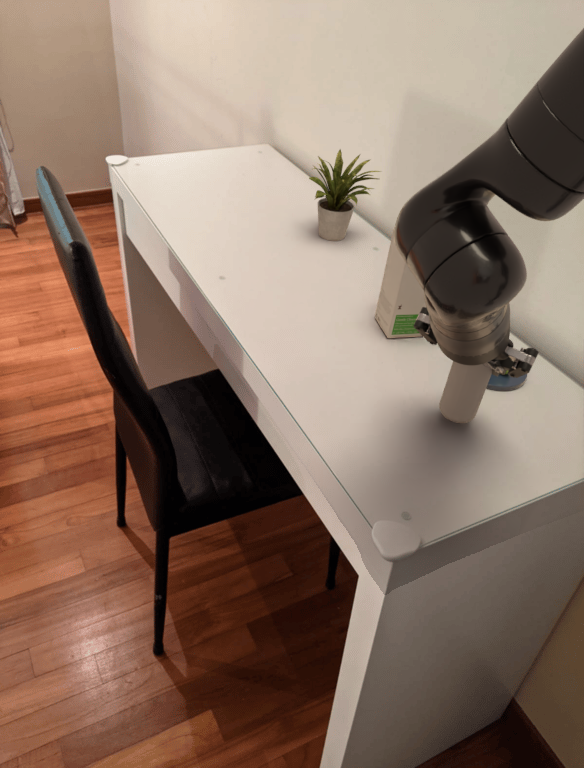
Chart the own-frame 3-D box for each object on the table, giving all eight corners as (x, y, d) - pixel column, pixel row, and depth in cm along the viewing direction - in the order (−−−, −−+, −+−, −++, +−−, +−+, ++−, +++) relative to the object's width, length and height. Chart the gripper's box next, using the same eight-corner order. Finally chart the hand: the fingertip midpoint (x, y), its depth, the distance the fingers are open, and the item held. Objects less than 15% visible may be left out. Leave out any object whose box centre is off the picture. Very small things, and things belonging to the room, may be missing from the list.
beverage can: (459, 397, 82) (484, 322, 74) (482, 420, 79) (511, 344, 71) (430, 405, 80) (453, 330, 73) (453, 429, 77) (480, 352, 69)
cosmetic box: (386, 339, 93) (407, 246, 84) (372, 316, 98) (390, 225, 88) (436, 336, 95) (462, 245, 85) (420, 313, 100) (443, 224, 90)
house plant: (337, 262, 111) (351, 174, 101) (279, 236, 117) (286, 150, 107) (379, 238, 120) (395, 155, 110) (323, 216, 127) (333, 135, 116)
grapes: (540, 381, 88) (555, 346, 84) (487, 397, 85) (501, 361, 81) (494, 343, 95) (506, 309, 91) (443, 356, 91) (454, 321, 87)
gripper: (558, 310, 58) (547, 354, 73) (420, 261, 63) (437, 312, 79) (524, 381, 57) (520, 410, 73) (388, 326, 63) (412, 364, 79)
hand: (477, 359), depth 76 cm, fingers closed on beverage can, 5 cm apart
